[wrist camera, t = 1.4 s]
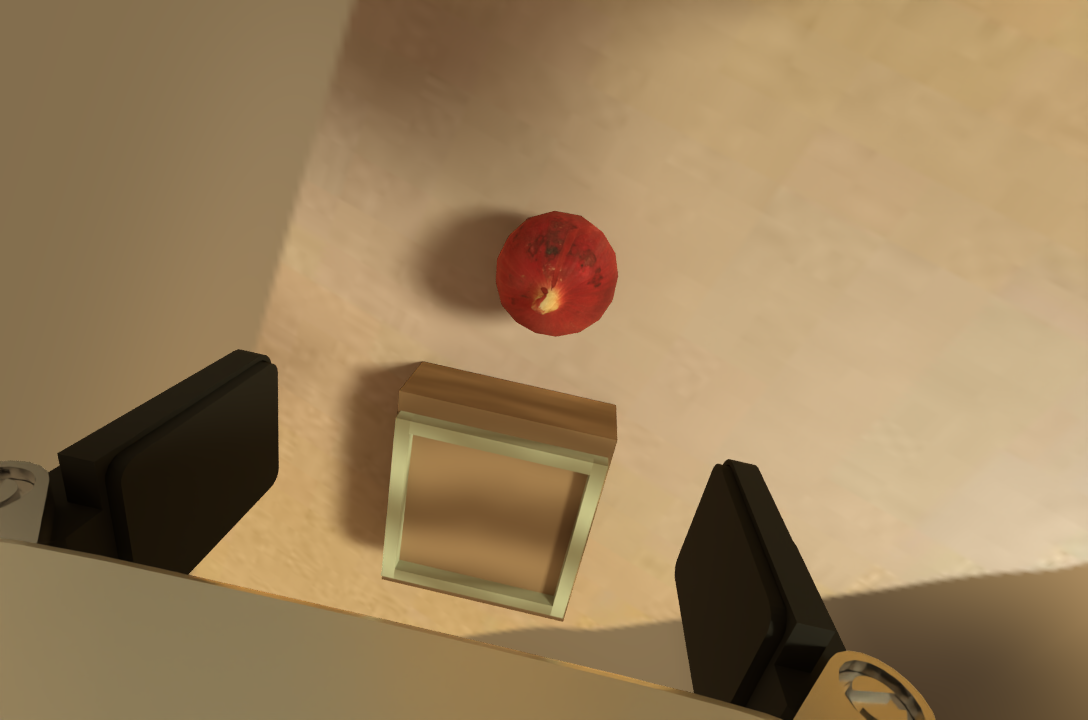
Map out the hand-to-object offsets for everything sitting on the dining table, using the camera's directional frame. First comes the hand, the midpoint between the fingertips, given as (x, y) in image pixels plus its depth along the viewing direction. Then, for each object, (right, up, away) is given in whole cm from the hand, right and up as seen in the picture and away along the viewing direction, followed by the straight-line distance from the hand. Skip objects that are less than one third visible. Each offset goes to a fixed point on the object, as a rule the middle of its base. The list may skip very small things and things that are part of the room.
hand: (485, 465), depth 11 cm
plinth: (-2, -5, +24) cm, 24 cm away
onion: (+2, +8, +18) cm, 20 cm away
